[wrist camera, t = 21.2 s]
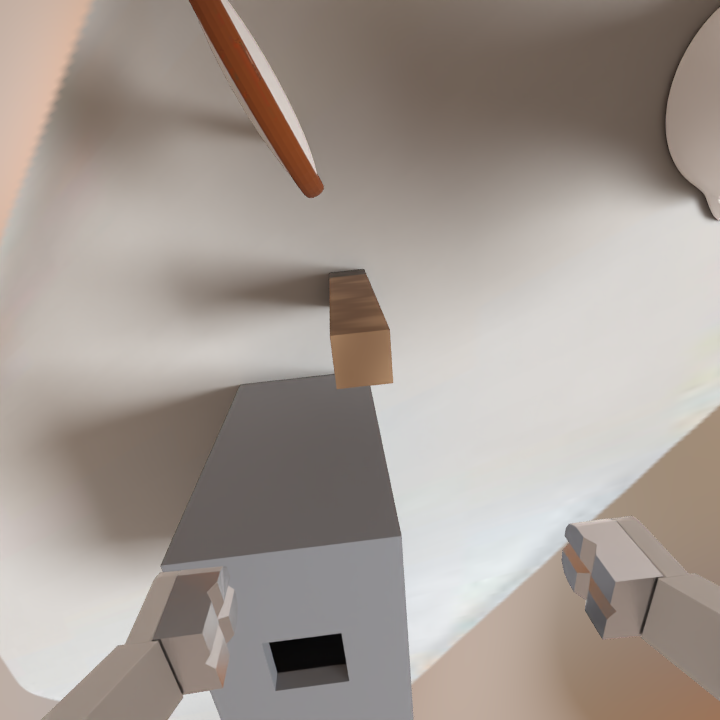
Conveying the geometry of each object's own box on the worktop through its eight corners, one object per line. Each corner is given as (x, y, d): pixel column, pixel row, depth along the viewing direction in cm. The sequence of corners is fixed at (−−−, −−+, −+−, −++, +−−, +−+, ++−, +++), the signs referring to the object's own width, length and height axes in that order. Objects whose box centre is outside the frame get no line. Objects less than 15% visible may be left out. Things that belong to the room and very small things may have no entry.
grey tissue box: (367, 370, 39) (401, 535, 21) (380, 515, 46) (414, 734, 28) (240, 384, 39) (160, 565, 20) (273, 528, 46) (236, 758, 27)
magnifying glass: (331, 185, 32) (335, 186, 14) (312, 196, 33) (292, 212, 14) (270, 69, 29) (171, -126, 11) (249, 82, 29) (119, -86, 11)
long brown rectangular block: (364, 269, 35) (389, 329, 21) (367, 303, 36) (393, 382, 22) (329, 273, 35) (329, 335, 20) (333, 306, 36) (336, 389, 22)
